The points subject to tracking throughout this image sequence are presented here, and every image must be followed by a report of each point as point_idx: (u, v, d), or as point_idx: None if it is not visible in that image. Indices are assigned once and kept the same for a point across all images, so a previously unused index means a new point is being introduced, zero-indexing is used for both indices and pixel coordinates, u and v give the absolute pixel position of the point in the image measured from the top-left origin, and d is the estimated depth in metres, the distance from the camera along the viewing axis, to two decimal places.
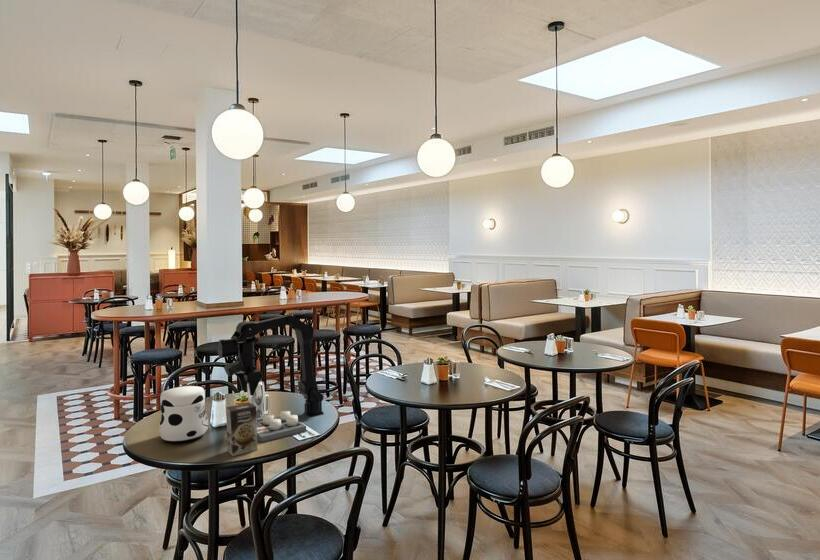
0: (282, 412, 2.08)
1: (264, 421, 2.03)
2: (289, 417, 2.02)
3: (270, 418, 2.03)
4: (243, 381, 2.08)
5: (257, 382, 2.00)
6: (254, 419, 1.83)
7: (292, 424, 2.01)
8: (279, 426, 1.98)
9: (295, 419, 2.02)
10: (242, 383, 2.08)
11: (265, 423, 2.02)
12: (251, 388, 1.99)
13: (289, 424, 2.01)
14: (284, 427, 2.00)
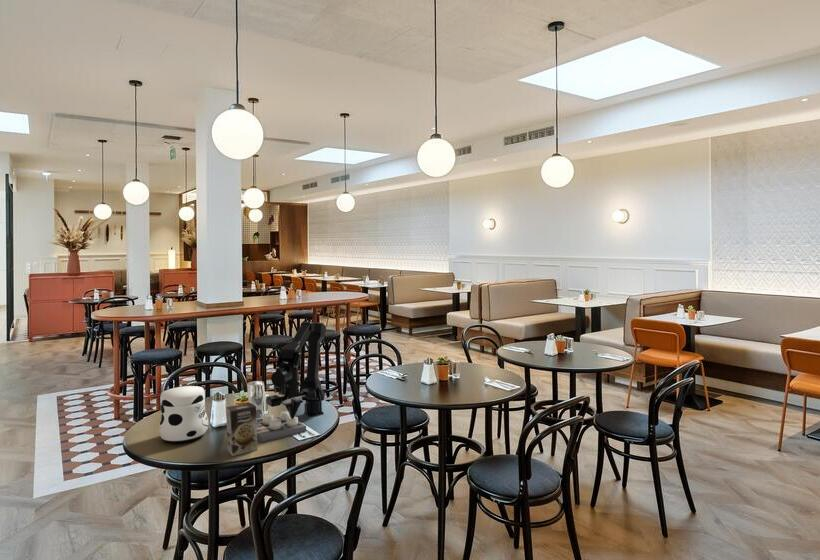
0: (282, 412, 2.08)
1: (264, 421, 2.03)
2: (289, 419, 2.02)
3: (270, 418, 2.03)
4: None
5: (289, 407, 2.00)
6: (254, 419, 1.83)
7: (292, 426, 2.01)
8: (279, 426, 1.98)
9: (295, 421, 2.02)
10: None
11: (265, 423, 2.02)
12: (288, 411, 2.03)
13: (289, 426, 2.01)
14: (284, 427, 2.00)
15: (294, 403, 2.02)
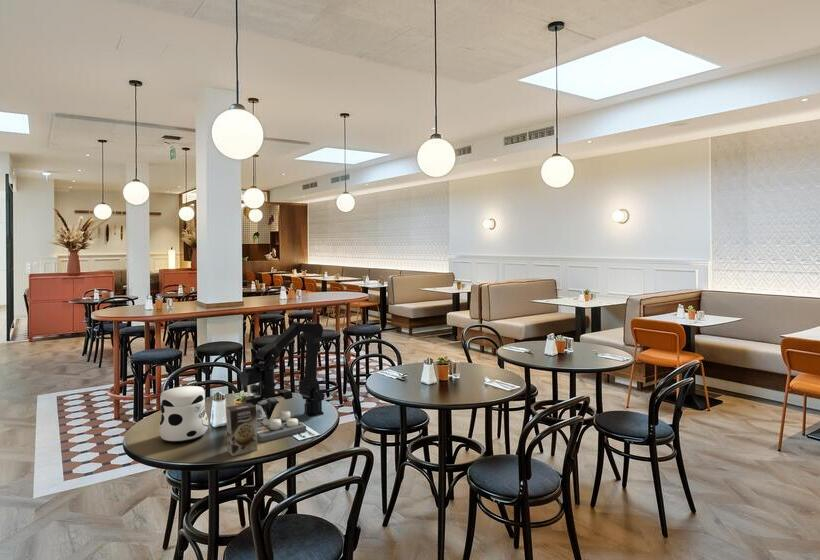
0: (282, 412, 2.08)
1: (264, 424, 2.03)
2: (289, 421, 2.02)
3: None
4: None
5: (264, 408, 2.02)
6: (254, 419, 1.83)
7: None
8: (279, 426, 1.98)
9: (295, 423, 2.02)
10: None
11: (265, 426, 2.02)
12: (264, 411, 2.04)
13: None
14: (284, 427, 2.00)
15: (270, 403, 2.04)
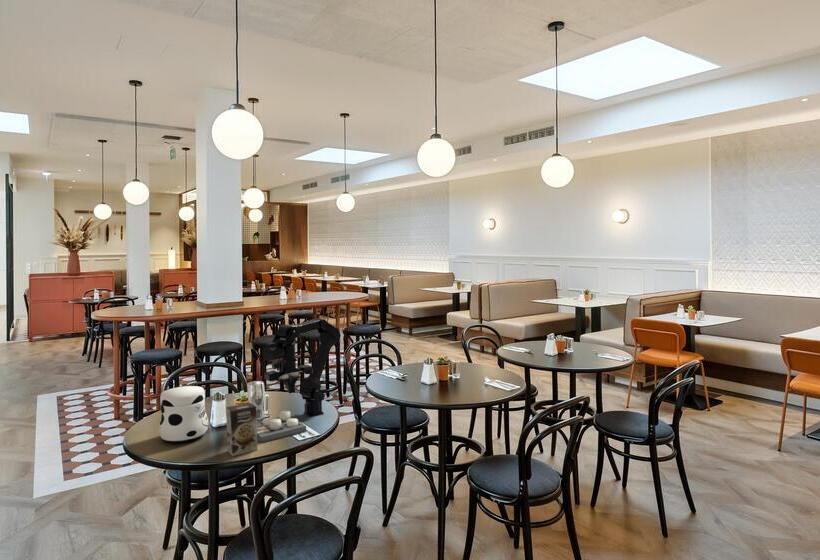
0: (282, 412, 2.08)
1: (264, 425, 2.03)
2: (289, 421, 2.02)
3: None
4: None
5: (286, 382, 2.08)
6: (254, 419, 1.83)
7: None
8: (279, 426, 1.98)
9: (295, 423, 2.02)
10: None
11: (265, 426, 2.02)
12: (286, 386, 2.11)
13: None
14: (284, 427, 2.00)
15: (291, 378, 2.10)
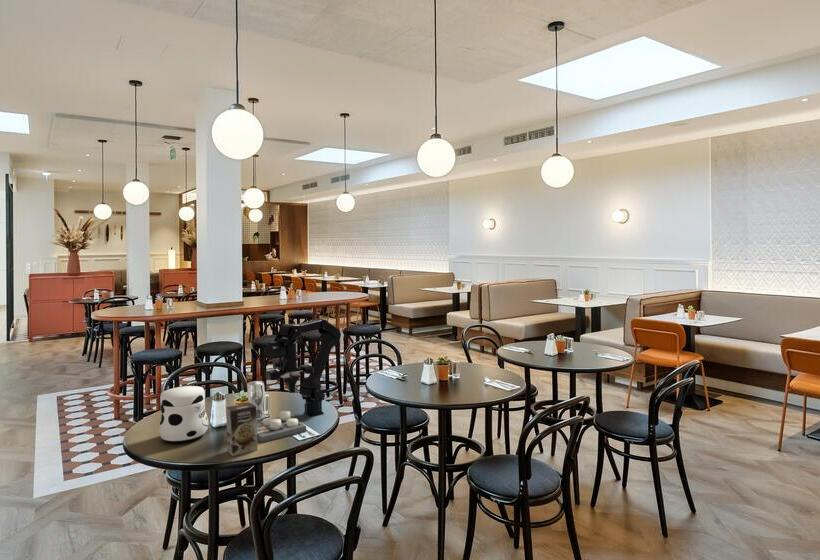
0: (282, 412, 2.08)
1: (264, 425, 2.03)
2: (289, 421, 2.02)
3: None
4: None
5: (287, 381, 2.08)
6: (254, 419, 1.83)
7: None
8: (279, 426, 1.98)
9: (295, 423, 2.02)
10: None
11: (265, 426, 2.02)
12: (287, 385, 2.11)
13: None
14: (284, 427, 2.00)
15: (292, 377, 2.10)
